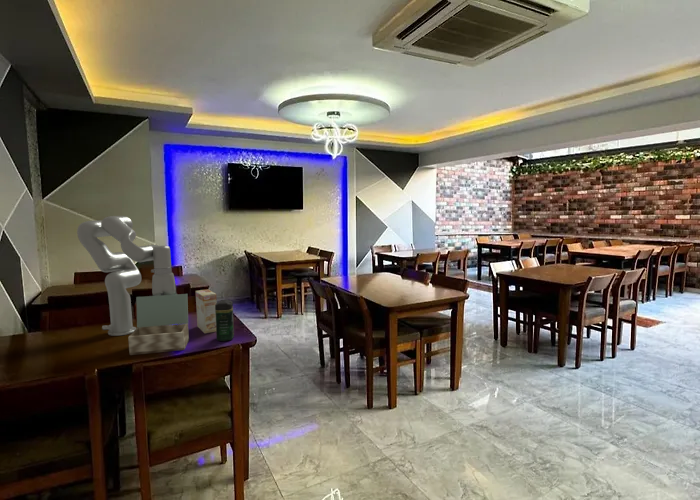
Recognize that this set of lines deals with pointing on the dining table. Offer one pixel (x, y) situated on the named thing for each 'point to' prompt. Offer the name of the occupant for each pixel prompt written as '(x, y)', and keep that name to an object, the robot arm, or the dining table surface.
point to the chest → (158, 339)
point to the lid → (162, 310)
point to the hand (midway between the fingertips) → (165, 308)
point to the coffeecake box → (206, 310)
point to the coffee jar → (224, 320)
